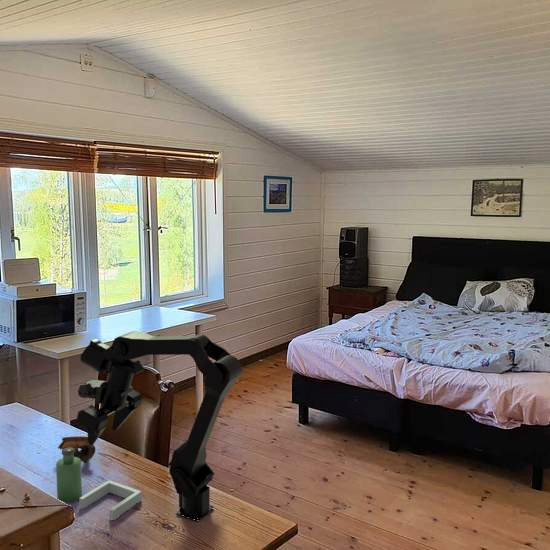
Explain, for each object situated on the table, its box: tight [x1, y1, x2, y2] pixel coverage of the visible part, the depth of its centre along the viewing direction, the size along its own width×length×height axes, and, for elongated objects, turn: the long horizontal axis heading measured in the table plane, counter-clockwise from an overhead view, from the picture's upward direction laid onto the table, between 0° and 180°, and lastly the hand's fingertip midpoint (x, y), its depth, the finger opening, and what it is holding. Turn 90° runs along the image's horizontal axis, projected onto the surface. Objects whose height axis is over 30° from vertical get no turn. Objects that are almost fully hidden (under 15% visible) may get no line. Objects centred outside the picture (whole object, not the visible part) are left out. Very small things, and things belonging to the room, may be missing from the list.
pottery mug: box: [57, 435, 96, 464], centre depth 153 cm, size 12×10×8 cm
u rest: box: [78, 480, 143, 521], centre depth 132 cm, size 10×10×2 cm
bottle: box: [55, 447, 83, 504], centre depth 134 cm, size 6×6×12 cm
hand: (102, 436), depth 137 cm, fingers open, 9 cm apart
